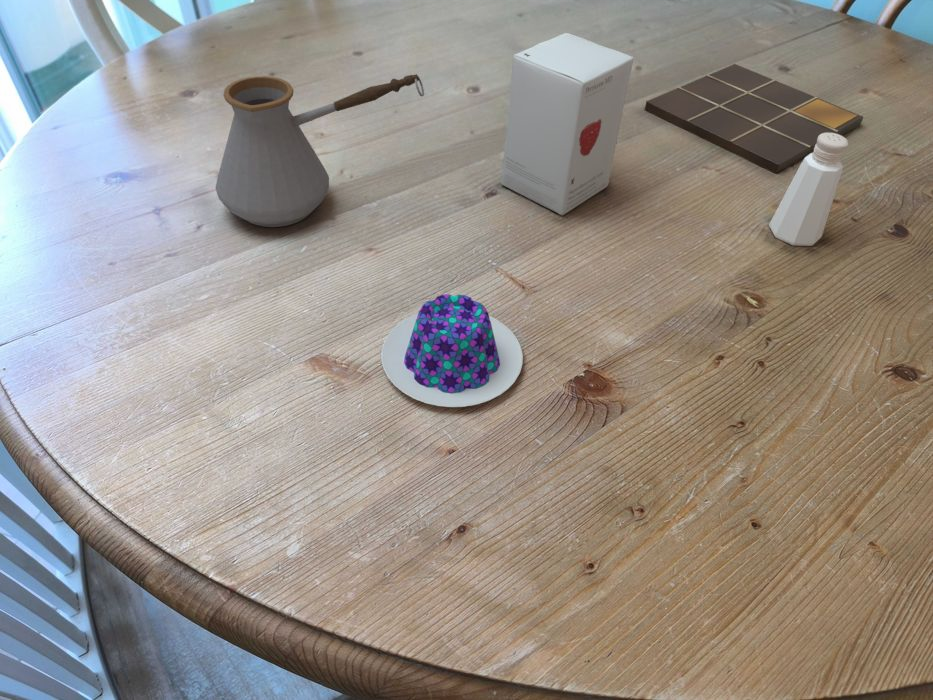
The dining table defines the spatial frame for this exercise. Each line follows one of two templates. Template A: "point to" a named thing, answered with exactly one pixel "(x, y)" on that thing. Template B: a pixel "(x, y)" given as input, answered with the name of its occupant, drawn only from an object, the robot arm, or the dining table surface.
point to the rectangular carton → (564, 120)
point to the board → (753, 116)
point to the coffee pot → (278, 151)
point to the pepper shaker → (810, 193)
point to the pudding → (452, 354)
